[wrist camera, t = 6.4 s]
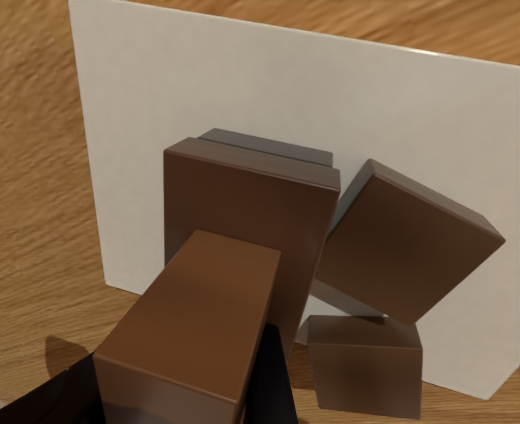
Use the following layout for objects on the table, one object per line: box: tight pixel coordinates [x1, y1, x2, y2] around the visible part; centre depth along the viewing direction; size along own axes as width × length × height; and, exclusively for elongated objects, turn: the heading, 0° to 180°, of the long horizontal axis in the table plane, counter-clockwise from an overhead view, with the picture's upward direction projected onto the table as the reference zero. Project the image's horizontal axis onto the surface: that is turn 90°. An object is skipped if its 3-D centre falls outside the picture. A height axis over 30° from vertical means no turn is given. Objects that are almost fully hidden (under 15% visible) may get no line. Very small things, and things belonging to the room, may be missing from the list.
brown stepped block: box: [93, 128, 341, 424], centre depth 9 cm, size 10×4×7 cm, turn 171°
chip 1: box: [314, 158, 506, 327], centre depth 9 cm, size 4×4×2 cm
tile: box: [68, 0, 520, 400], centre depth 11 cm, size 12×18×1 cm, turn 81°
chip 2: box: [307, 315, 423, 420], centre depth 12 cm, size 4×4×2 cm
